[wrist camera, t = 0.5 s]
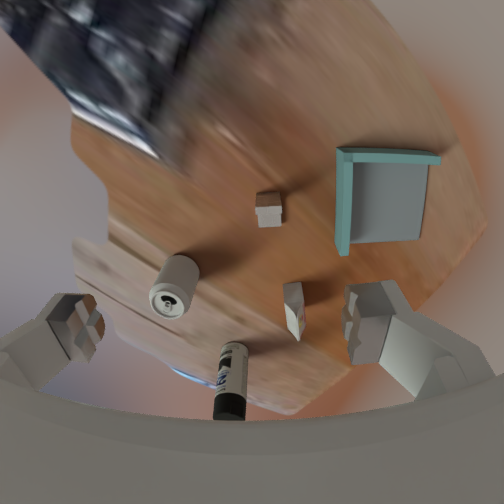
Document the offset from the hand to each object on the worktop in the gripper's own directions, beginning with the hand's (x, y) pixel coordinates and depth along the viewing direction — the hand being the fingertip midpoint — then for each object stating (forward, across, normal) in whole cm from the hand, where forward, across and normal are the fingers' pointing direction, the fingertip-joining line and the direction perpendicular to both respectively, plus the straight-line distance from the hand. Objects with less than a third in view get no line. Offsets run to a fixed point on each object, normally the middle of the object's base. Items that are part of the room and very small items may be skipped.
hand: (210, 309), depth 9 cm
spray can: (+44, +8, +48) cm, 66 cm away
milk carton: (+44, -6, +32) cm, 54 cm away
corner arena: (+43, -23, +11) cm, 50 cm away
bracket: (+43, -2, +12) cm, 45 cm away
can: (+43, +16, +24) cm, 52 cm away
